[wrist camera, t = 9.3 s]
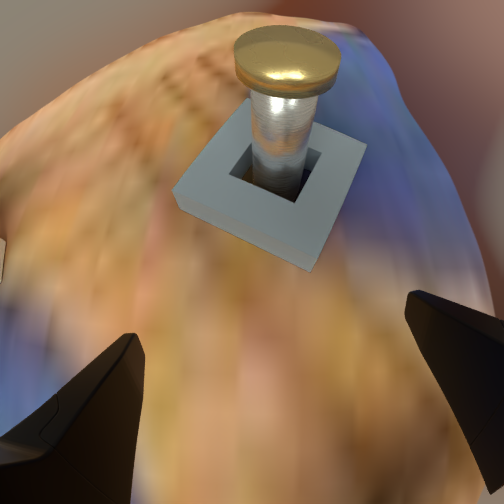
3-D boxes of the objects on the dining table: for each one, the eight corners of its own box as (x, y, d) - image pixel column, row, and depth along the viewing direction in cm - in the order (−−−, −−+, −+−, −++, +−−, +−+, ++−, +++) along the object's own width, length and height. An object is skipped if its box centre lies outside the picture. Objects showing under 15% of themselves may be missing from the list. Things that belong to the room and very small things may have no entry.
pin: (321, 193, 26) (362, 59, 13) (269, 226, 25) (280, 89, 12) (281, 151, 28) (292, 18, 15) (231, 180, 27) (213, 42, 14)
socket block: (358, 164, 27) (367, 144, 25) (310, 272, 23) (317, 259, 21) (247, 119, 30) (246, 97, 27) (179, 209, 26) (171, 190, 23)
